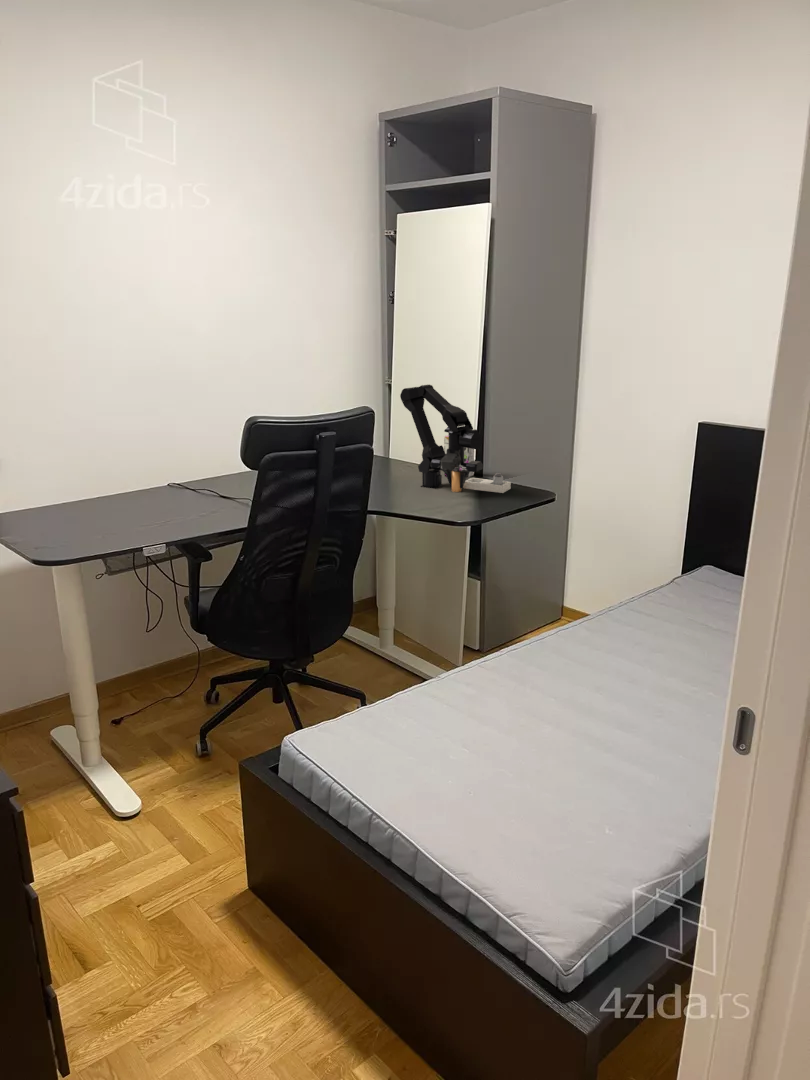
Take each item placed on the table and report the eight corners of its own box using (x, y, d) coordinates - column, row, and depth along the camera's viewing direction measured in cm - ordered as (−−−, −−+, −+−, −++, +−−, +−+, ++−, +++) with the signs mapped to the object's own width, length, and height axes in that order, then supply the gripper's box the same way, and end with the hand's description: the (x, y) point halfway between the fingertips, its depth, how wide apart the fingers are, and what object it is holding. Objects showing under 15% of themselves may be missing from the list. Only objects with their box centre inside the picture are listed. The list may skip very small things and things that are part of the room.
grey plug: (491, 490, 288) (491, 474, 287) (495, 488, 291) (495, 472, 290) (500, 491, 287) (500, 475, 285) (504, 489, 290) (504, 473, 288)
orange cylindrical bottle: (449, 492, 289) (449, 468, 286) (454, 490, 292) (454, 466, 289) (458, 493, 287) (458, 469, 284) (463, 491, 290) (463, 467, 287)
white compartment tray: (463, 490, 293) (463, 481, 292) (471, 486, 298) (471, 477, 297) (502, 495, 285) (502, 486, 284) (510, 491, 290) (510, 482, 289)
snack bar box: (443, 476, 315) (443, 436, 310) (449, 474, 319) (449, 434, 314) (468, 479, 309) (468, 438, 304) (474, 477, 313) (474, 436, 308)
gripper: (422, 447, 282) (423, 489, 287) (469, 451, 273) (469, 495, 277) (437, 441, 291) (438, 482, 296) (483, 446, 282) (483, 488, 287)
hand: (456, 487), depth 289 cm, fingers closed on orange cylindrical bottle, 4 cm apart
